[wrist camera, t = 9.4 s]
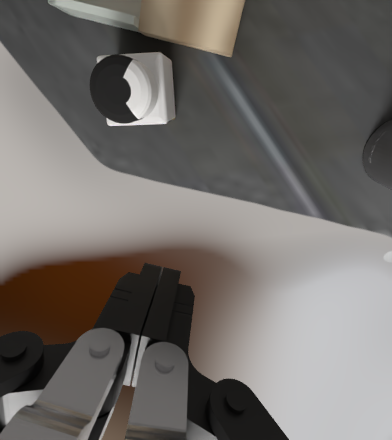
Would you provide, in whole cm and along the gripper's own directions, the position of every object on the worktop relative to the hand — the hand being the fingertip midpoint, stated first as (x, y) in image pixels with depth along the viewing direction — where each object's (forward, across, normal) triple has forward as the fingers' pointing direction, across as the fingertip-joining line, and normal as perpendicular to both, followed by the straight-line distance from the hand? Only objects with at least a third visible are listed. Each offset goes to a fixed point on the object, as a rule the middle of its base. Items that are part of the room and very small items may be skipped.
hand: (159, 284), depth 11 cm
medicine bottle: (+31, +9, -6) cm, 33 cm away
